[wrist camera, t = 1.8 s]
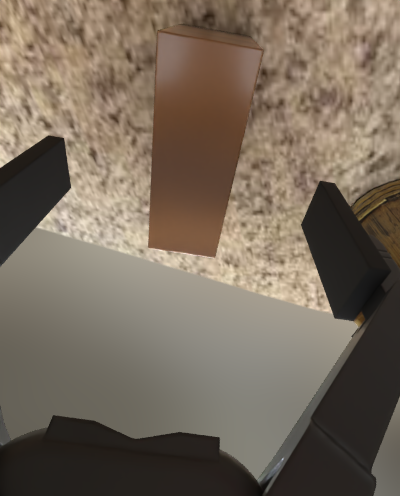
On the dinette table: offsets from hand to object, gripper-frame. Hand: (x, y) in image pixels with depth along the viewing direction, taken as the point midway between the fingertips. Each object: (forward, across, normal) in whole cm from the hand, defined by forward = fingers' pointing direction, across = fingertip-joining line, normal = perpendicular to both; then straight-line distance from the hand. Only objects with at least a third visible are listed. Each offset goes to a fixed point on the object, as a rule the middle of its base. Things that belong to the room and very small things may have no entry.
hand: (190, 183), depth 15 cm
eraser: (+9, 0, 0) cm, 9 cm away
